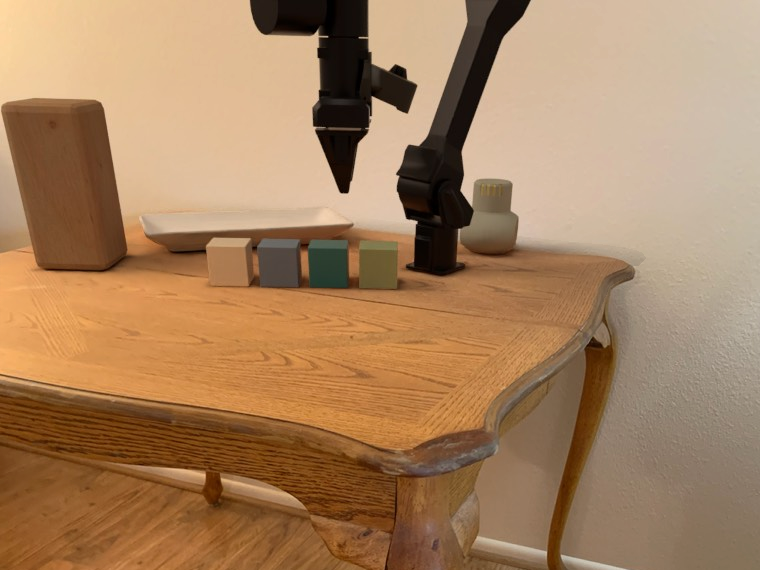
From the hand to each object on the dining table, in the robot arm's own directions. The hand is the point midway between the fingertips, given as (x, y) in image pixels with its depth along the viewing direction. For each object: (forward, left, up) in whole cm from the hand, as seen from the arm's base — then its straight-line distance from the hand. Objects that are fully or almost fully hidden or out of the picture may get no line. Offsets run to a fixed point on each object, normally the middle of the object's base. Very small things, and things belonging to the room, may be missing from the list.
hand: (346, 187), depth 95 cm
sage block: (-3, +3, -12) cm, 13 cm away
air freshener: (-30, +4, -12) cm, 33 cm away
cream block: (+9, -13, -12) cm, 20 cm away
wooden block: (+15, -36, -12) cm, 41 cm away
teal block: (+1, -2, -12) cm, 12 cm away
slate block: (+5, -8, -12) cm, 15 cm away
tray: (-10, -29, -12) cm, 33 cm away
